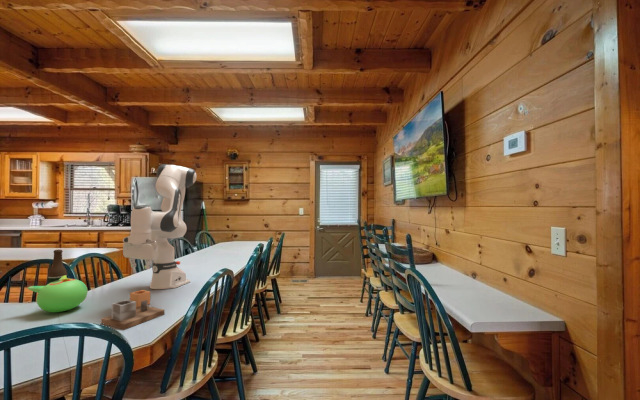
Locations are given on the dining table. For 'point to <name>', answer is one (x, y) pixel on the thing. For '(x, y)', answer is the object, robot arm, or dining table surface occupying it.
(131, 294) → the terracotta sleeve
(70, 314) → the dining table surface
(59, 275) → the beer bottle
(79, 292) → the gravy boat
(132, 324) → the pin board
